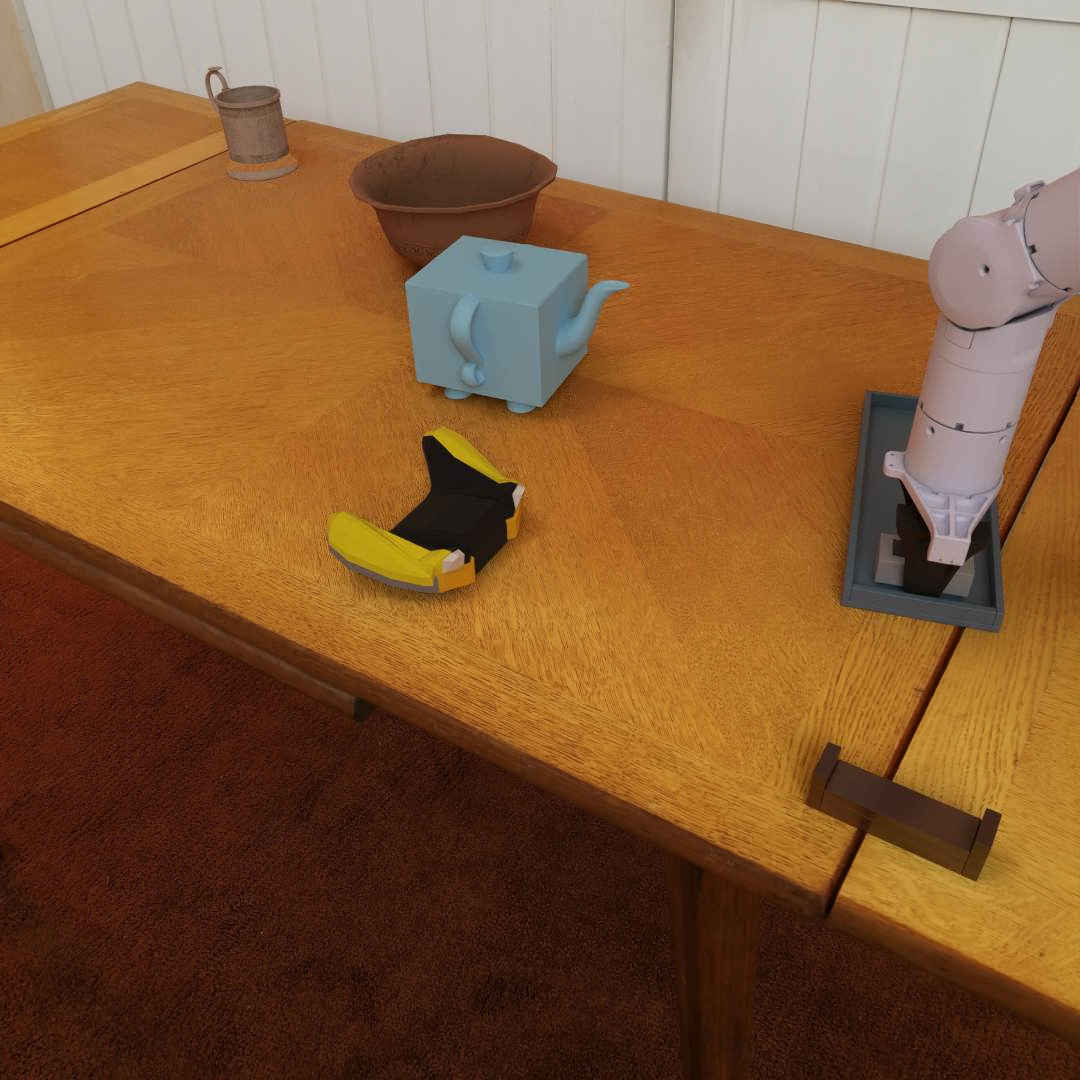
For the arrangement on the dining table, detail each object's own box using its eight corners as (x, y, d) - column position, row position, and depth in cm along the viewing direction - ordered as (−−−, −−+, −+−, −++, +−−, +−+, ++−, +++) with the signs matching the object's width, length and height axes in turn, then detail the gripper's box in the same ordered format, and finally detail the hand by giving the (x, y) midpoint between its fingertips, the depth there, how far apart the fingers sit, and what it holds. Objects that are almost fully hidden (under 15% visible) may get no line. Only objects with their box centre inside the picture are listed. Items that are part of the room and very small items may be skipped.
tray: (985, 422, 84) (990, 404, 83) (998, 633, 65) (1005, 614, 64) (862, 406, 87) (866, 389, 85) (840, 605, 68) (844, 587, 66)
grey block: (966, 569, 69) (974, 545, 67) (967, 597, 66) (975, 573, 65) (875, 554, 70) (881, 530, 69) (873, 582, 68) (879, 558, 67)
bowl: (547, 220, 121) (544, 127, 114) (573, 301, 104) (572, 197, 97) (364, 234, 119) (350, 140, 112) (360, 319, 102) (343, 214, 95)
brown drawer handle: (987, 847, 53) (1002, 813, 51) (976, 882, 51) (991, 848, 50) (820, 774, 57) (828, 741, 55) (805, 805, 55) (812, 771, 53)
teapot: (404, 410, 88) (385, 273, 80) (483, 332, 99) (474, 204, 91) (593, 453, 82) (594, 309, 74) (655, 365, 93) (662, 231, 85)
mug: (312, 165, 139) (296, 72, 131) (254, 185, 133) (233, 90, 125) (251, 145, 146) (232, 56, 139) (193, 163, 141) (170, 72, 133)
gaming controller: (322, 582, 71) (438, 629, 67) (308, 521, 68) (429, 567, 64) (442, 473, 81) (549, 508, 77) (435, 415, 77) (547, 448, 73)
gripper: (902, 342, 66) (866, 506, 75) (894, 465, 55) (853, 639, 64) (1016, 355, 64) (966, 520, 73) (1031, 484, 54) (970, 660, 62)
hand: (920, 577), depth 68 cm, fingers closed on grey block, 3 cm apart
